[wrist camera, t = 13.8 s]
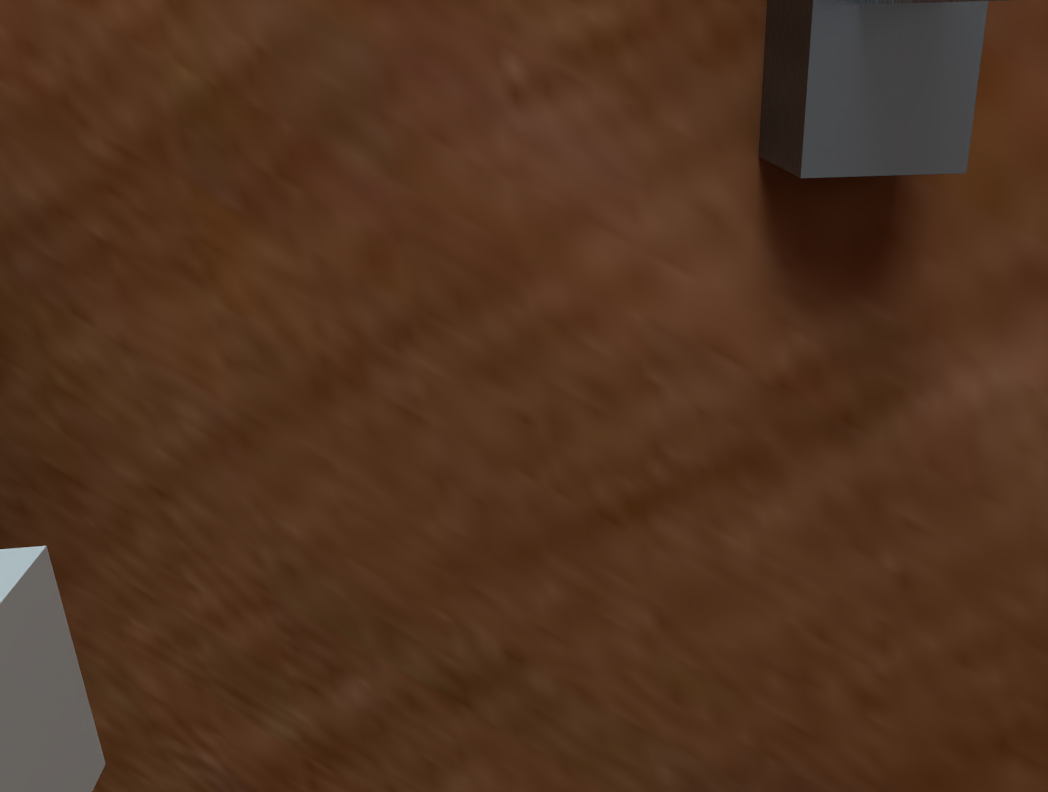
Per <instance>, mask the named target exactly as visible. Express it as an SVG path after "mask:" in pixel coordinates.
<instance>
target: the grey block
mask: <svg viewBox="0 0 1048 792" xmlns="http://www.w3.org/2000/svg"><path fill="white" fill-rule="evenodd" d="M988 1H1008V0H768V1H767V19H766V37H765V55H764V73H763V91H762V109H761V127H760V144H759V157H761V158H763V159H765V160H767V161H768V162H770V163H772V164H774V165H776V166H778V167H780V168H782V169H784V170H786V171H788V172H790V173H791V174H793V175H795V176H797V177H799V178H826V177H858V176H889V175H921V174H953V173H966V170H967V163H968V155H969V147H970V139H971V131H972V124H973V116H974V108H975V100H976V93H977V85H978V77H979V69H980V62H981V54H982V46H983V38H984V31H985V23H986V15H987V7H988Z"/></svg>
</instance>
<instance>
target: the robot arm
mask: <svg viewBox="0 0 1048 792" xmlns="http://www.w3.org/2000/svg"><path fill="white" fill-rule="evenodd" d="M104 766H105V761H104V757H103V753H102V750H101V746H100V742H99V739H98V735H97V731H96V728H95V724H94V720H93V716H92V713H91V709H90V705H89V702H88V698H87V694H86V690H85V687H84V683H83V679H82V676H81V672H80V668H79V665H78V661H77V657H76V653H75V650H74V646H73V642H72V639H71V635H70V631H69V627H68V624H67V620H66V616H65V613H64V609H63V605H62V602H61V598H60V594H59V590H58V587H57V583H56V579H55V576H54V572H53V568H52V564H51V561H50V557H49V553H48V550H47V546H38V547H25V548H13V549H0V792H92V791H93V789H94V786H95V784H96V782H97V780H98V778H99V776H100V774H101V772H102V770H103V768H104Z"/></svg>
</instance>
